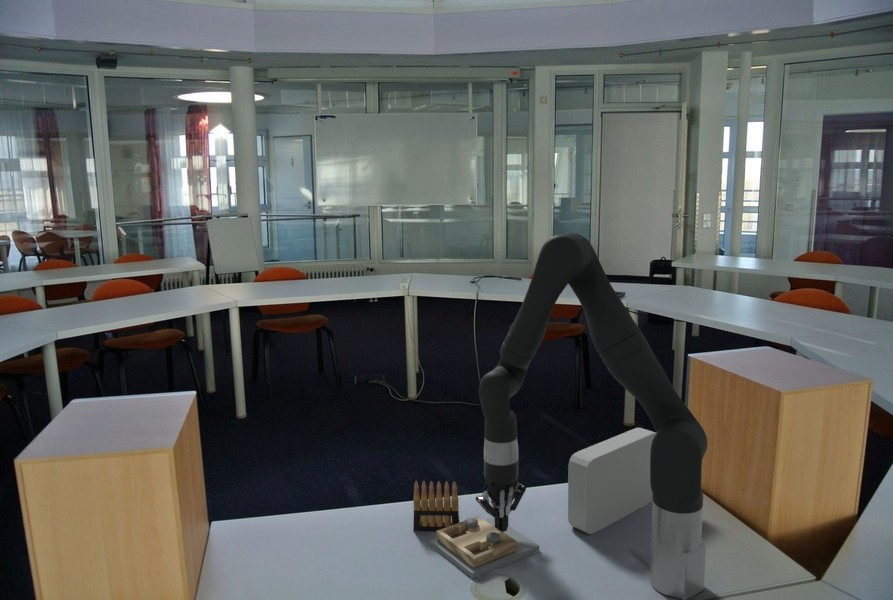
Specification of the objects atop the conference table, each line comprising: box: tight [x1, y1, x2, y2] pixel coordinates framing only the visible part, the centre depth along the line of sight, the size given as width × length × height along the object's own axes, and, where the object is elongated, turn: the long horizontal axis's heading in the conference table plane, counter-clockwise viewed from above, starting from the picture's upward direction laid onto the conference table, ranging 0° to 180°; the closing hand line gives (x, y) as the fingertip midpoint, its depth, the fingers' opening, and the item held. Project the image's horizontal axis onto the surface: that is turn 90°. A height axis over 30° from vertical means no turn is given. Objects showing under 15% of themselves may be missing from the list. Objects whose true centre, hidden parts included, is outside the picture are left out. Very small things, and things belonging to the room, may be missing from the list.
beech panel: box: [435, 515, 517, 568], centre depth 144 cm, size 14×12×2 cm
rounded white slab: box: [567, 427, 656, 535], centre depth 160 cm, size 29×8×18 cm, turn 129°
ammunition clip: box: [412, 480, 460, 533], centre depth 154 cm, size 11×2×12 cm, turn 86°
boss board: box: [429, 516, 540, 579], centre depth 146 cm, size 16×18×5 cm
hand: (501, 530), depth 149 cm, fingers closed
